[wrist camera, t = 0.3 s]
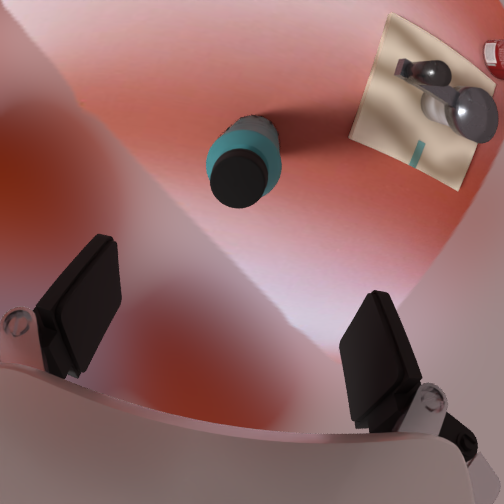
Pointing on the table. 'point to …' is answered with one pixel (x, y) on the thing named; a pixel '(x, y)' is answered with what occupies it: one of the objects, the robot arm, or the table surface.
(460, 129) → the crank handle
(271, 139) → the beverage bottle
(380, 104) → the square base with post
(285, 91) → the table surface
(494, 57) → the soda can
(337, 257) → the table surface
